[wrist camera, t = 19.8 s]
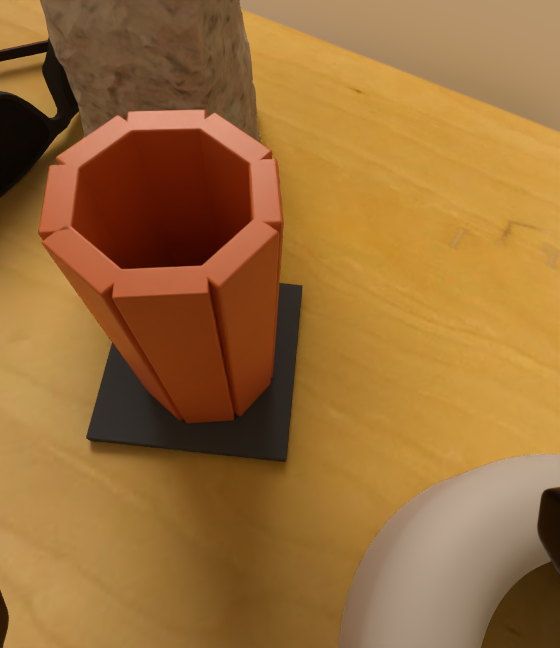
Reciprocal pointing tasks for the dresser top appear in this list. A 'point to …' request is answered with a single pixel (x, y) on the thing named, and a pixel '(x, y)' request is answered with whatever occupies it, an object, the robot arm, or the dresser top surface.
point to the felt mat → (207, 437)
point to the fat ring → (450, 558)
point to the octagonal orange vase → (175, 253)
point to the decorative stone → (154, 58)
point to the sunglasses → (31, 117)
